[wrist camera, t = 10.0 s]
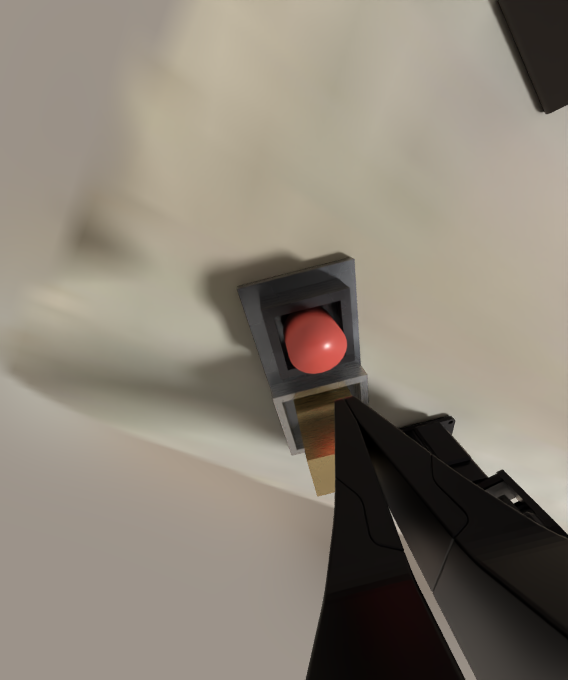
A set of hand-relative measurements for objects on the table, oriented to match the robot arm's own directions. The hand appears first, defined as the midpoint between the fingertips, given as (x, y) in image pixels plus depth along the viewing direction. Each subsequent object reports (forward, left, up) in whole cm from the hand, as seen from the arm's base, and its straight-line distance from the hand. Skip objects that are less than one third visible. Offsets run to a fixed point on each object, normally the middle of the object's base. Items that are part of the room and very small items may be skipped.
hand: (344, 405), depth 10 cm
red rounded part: (0, 0, -7) cm, 7 cm away
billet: (-8, 0, -8) cm, 11 cm away
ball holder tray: (-4, 0, -8) cm, 9 cm away
